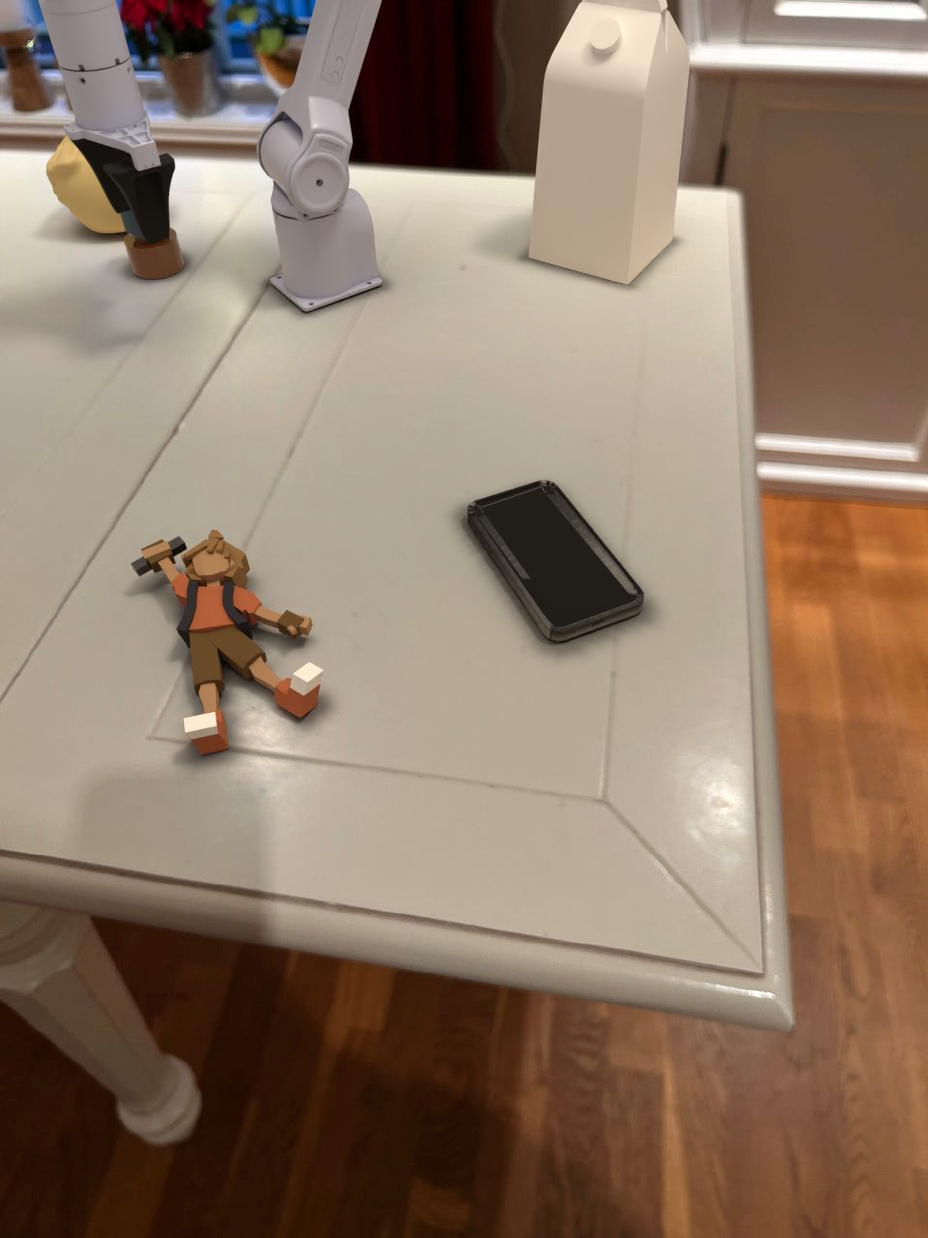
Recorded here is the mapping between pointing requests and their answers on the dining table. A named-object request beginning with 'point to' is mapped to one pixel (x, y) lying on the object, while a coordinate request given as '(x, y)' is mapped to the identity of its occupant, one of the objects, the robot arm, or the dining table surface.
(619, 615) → the phone
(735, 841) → the dining table surface
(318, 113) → the robot arm
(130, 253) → the brown cup
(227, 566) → the character figurine
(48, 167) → the sculpture
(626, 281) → the milk
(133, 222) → the slate bottle
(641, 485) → the dining table surface
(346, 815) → the dining table surface
